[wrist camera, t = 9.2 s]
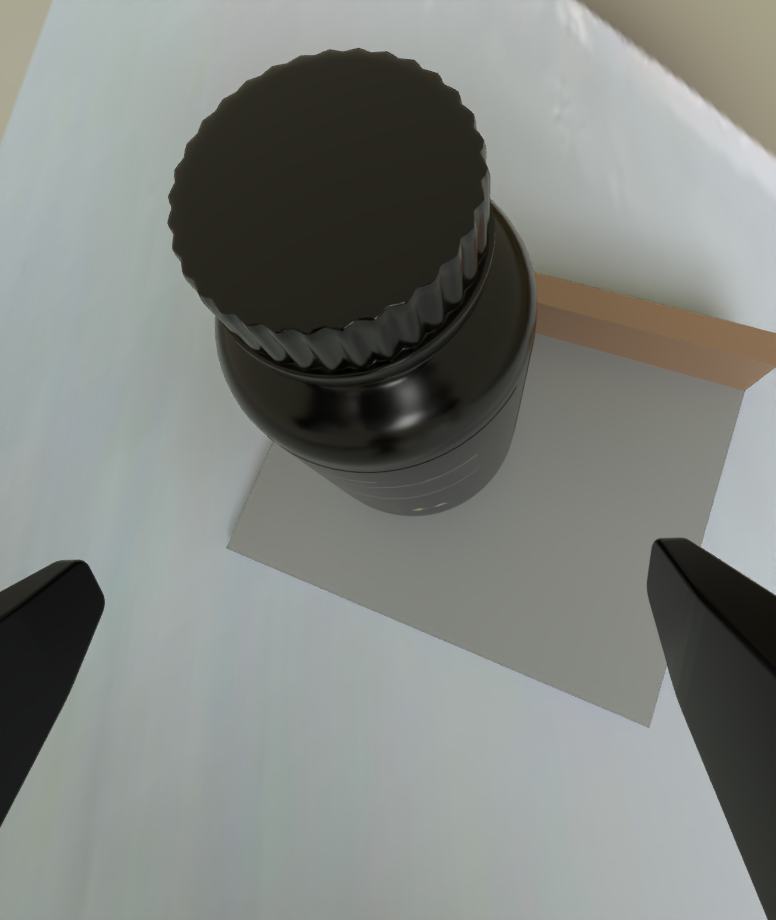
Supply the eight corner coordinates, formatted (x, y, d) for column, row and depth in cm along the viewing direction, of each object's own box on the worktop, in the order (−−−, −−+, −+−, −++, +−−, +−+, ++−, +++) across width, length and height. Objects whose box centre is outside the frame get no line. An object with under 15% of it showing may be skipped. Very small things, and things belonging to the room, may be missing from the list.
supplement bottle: (314, 352, 21) (106, 43, 9) (496, 321, 20) (524, -66, 8) (328, 534, 19) (93, 437, 7) (529, 508, 18) (625, 351, 6)
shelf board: (643, 723, 16) (672, 745, 14) (233, 549, 20) (198, 542, 17) (745, 365, 19) (787, 329, 16) (359, 262, 22) (344, 219, 19)
